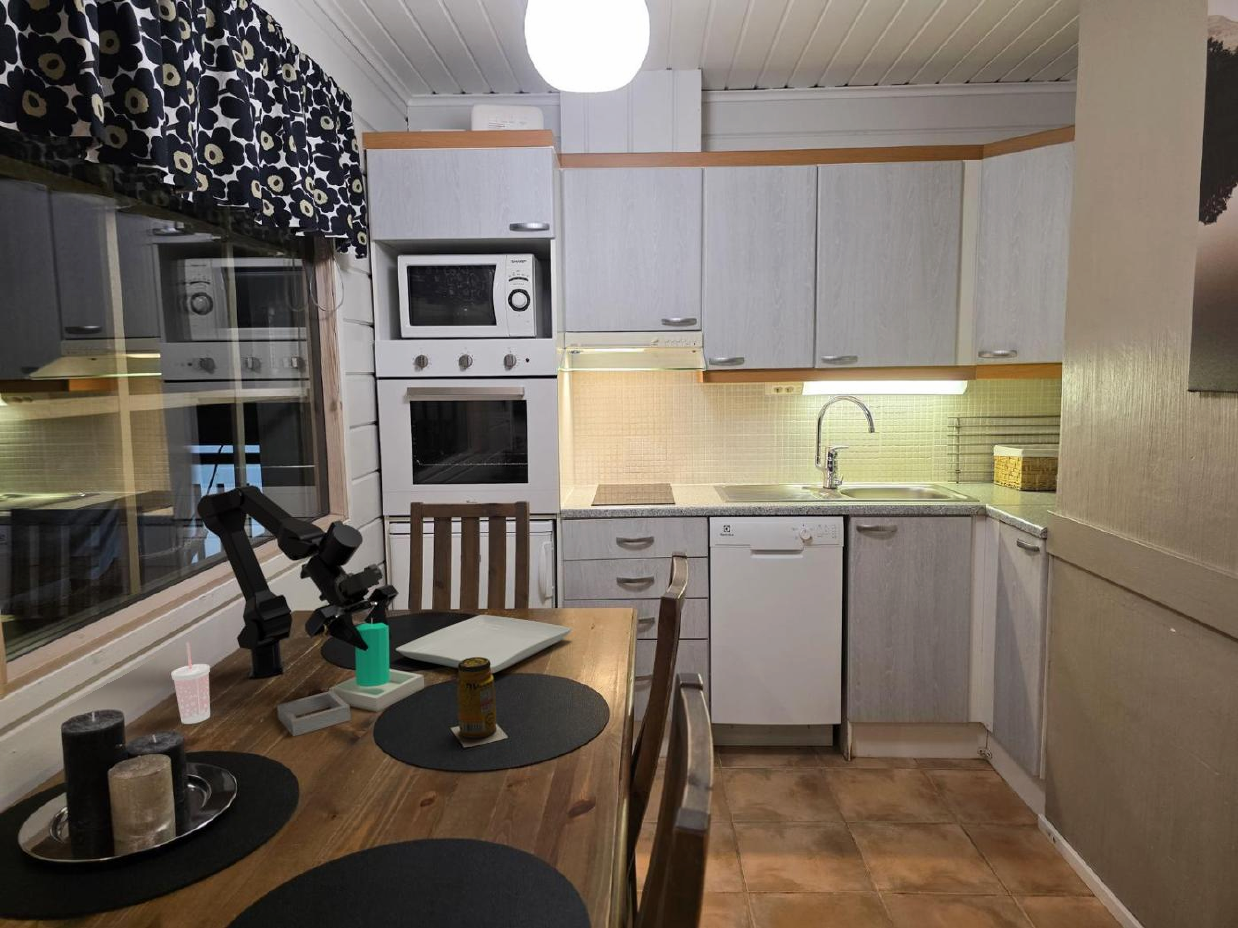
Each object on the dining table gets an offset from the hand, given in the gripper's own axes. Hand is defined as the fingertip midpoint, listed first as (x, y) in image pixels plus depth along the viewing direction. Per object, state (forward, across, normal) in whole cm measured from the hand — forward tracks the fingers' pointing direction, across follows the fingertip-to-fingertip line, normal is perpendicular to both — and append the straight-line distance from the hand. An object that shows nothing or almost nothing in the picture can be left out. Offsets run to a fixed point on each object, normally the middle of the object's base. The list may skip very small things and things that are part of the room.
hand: (378, 644), depth 150 cm
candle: (+4, -1, +6) cm, 7 cm away
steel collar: (+5, -13, +9) cm, 17 cm away
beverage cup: (-10, -21, +24) cm, 34 cm away
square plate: (+10, +27, +5) cm, 29 cm away
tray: (+6, 0, +8) cm, 10 cm away
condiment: (+26, -6, -13) cm, 30 cm away
